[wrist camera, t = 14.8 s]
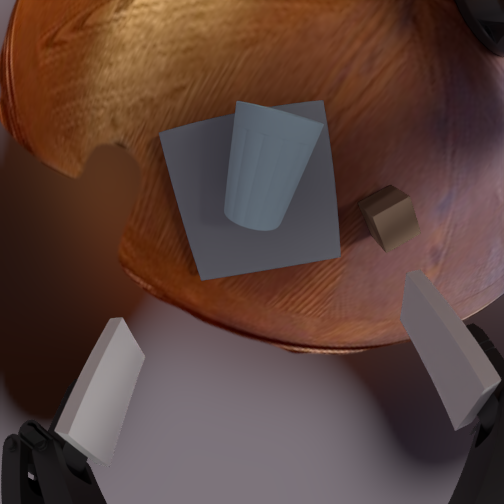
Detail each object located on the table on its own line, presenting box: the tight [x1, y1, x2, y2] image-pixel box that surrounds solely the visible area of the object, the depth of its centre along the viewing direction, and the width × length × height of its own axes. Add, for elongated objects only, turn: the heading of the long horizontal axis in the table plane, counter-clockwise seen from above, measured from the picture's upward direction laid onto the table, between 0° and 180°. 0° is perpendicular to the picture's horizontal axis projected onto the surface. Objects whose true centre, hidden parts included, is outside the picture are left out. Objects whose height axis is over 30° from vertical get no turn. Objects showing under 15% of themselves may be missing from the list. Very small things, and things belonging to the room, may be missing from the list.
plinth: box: [159, 100, 341, 281], centre depth 31 cm, size 18×17×2 cm
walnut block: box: [358, 185, 421, 253], centre depth 31 cm, size 5×5×5 cm
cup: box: [224, 101, 324, 231], centre depth 25 cm, size 8×8×10 cm
